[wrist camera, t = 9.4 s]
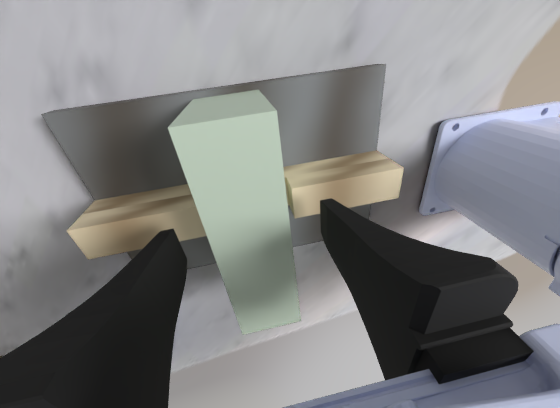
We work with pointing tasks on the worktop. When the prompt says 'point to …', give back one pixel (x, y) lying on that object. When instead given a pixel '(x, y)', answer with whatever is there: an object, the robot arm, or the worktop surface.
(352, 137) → the joint board
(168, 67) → the worktop surface
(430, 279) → the robot arm
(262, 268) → the pale green block
